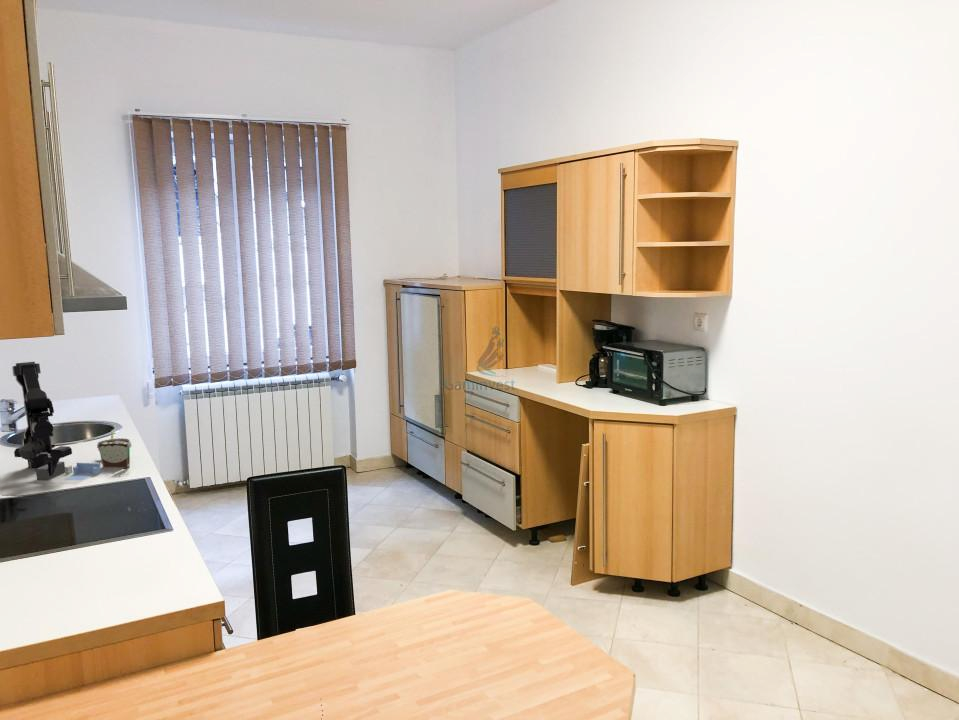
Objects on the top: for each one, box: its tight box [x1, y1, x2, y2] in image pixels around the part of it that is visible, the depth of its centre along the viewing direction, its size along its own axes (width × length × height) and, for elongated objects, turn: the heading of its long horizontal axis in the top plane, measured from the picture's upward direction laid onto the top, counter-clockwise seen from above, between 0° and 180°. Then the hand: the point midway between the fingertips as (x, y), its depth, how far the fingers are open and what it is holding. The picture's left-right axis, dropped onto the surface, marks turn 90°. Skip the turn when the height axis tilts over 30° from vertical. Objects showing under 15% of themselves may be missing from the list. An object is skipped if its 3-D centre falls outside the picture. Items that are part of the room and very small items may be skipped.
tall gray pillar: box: [35, 461, 66, 480], centre depth 271 cm, size 4×9×4 cm, turn 169°
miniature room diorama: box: [26, 462, 102, 485], centre depth 270 cm, size 20×13×4 cm, turn 79°
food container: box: [96, 437, 132, 470], centre depth 284 cm, size 12×6×10 cm, turn 84°
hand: (45, 475), depth 269 cm, fingers closed on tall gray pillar, 4 cm apart
